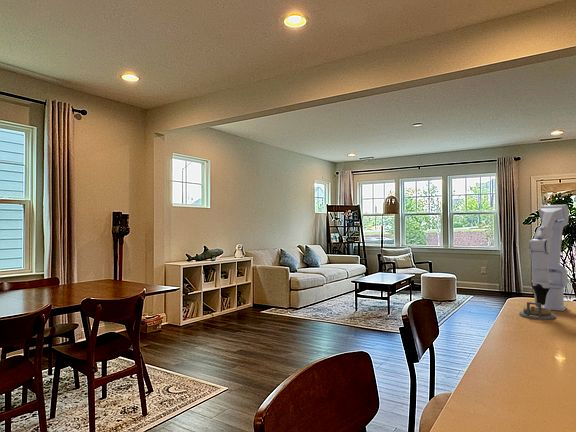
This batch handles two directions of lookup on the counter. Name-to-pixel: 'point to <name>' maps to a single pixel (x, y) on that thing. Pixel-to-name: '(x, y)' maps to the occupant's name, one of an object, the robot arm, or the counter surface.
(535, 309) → the capstan disc
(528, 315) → the disc
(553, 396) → the counter surface
